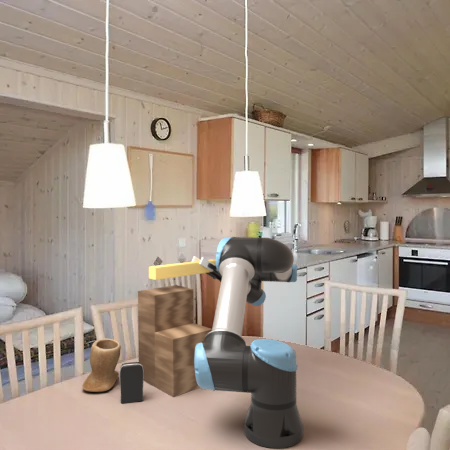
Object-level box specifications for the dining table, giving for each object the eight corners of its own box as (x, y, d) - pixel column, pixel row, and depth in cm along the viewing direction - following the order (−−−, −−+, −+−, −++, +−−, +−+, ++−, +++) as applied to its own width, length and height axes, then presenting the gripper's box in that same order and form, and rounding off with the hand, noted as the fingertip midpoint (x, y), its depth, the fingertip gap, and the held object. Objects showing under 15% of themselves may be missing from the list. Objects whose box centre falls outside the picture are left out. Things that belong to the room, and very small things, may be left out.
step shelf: (176, 366, 160) (176, 285, 158) (212, 382, 145) (212, 293, 143) (138, 378, 149) (137, 291, 147) (173, 397, 134) (172, 300, 133)
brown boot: (116, 395, 136) (115, 347, 135) (77, 394, 136) (77, 347, 135) (127, 375, 151) (126, 333, 150) (93, 375, 151) (92, 333, 150)
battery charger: (143, 396, 135) (142, 359, 134) (143, 401, 131) (143, 364, 130) (120, 398, 133) (119, 361, 133) (120, 404, 129) (119, 366, 129)
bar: (211, 269, 166) (211, 259, 166) (218, 270, 163) (218, 260, 163) (148, 278, 147) (148, 266, 147) (155, 279, 144) (155, 267, 144)
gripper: (249, 296, 165) (208, 272, 151) (218, 290, 178) (178, 266, 163) (255, 278, 167) (216, 252, 153) (225, 273, 180) (186, 248, 166)
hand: (197, 260), depth 158 cm, fingers closed on bar, 4 cm apart
